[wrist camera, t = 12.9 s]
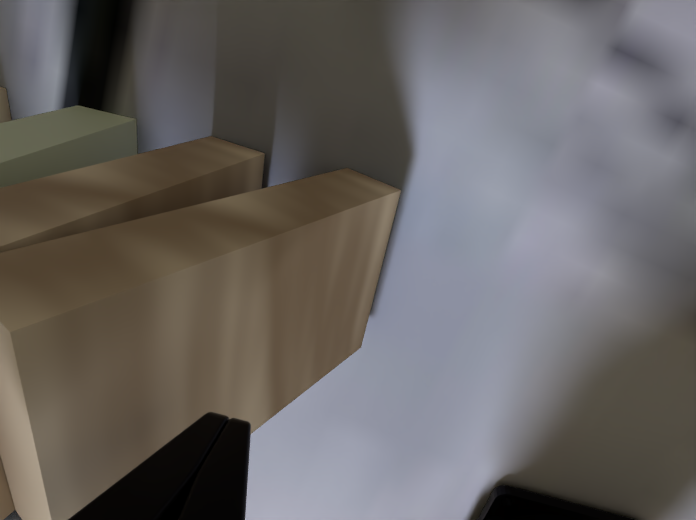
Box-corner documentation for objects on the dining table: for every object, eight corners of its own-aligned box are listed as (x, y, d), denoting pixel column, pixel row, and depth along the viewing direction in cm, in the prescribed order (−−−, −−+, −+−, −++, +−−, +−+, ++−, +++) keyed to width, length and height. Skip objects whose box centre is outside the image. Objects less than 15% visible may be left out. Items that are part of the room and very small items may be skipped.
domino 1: (400, 190, 13) (9, 332, 6) (360, 347, 16) (64, 580, 9) (347, 167, 14) (-53, 266, 7) (318, 320, 17) (15, 510, 10)
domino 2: (264, 153, 14) (-175, 307, 6) (249, 311, 17) (-56, 570, 8) (211, 136, 14) (-266, 253, 6) (204, 291, 17) (-126, 518, 9)
